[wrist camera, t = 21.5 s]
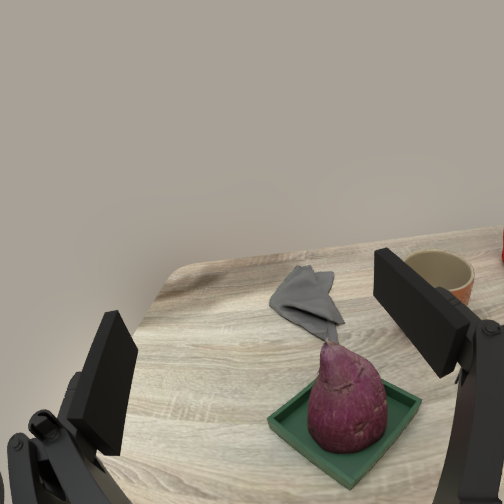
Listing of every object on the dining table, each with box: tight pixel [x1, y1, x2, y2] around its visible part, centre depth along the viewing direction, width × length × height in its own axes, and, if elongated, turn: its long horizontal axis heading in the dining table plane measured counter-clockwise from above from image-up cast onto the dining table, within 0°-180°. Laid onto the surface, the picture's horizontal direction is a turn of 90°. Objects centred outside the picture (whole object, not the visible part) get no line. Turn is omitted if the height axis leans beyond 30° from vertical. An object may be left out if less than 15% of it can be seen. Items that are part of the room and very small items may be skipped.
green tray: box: [267, 379, 422, 490], centre depth 31 cm, size 14×14×3 cm
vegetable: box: [307, 338, 388, 454], centre depth 29 cm, size 10×10×15 cm
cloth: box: [269, 265, 345, 343], centre depth 56 cm, size 26×14×2 cm, turn 172°
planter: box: [403, 249, 474, 306], centre depth 41 cm, size 12×12×11 cm
